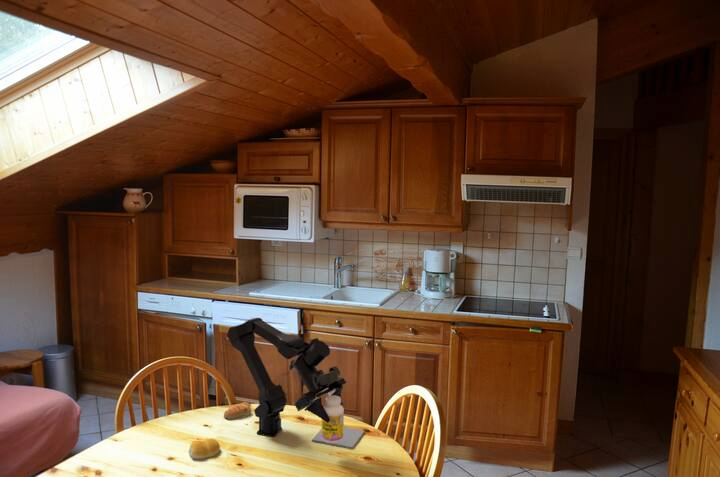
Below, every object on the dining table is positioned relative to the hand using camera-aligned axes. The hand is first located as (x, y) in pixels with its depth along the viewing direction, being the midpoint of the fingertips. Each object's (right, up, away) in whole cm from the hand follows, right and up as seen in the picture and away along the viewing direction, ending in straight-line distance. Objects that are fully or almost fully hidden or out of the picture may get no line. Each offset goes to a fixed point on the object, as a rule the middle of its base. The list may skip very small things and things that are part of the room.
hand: (336, 417), depth 156 cm
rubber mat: (0, -12, +15) cm, 19 cm away
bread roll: (-41, -12, +4) cm, 43 cm away
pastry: (-37, -10, +31) cm, 49 cm away
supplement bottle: (-1, -7, +2) cm, 7 cm away
